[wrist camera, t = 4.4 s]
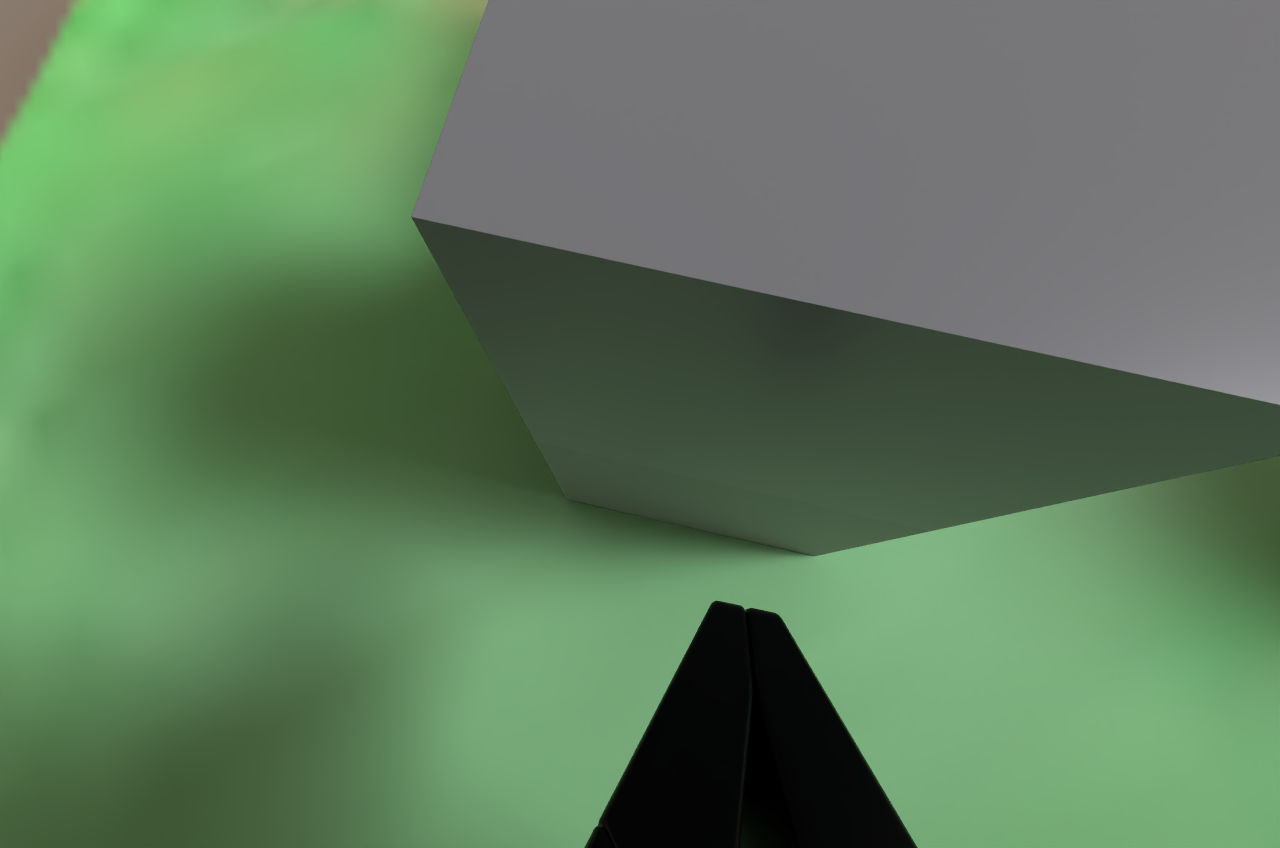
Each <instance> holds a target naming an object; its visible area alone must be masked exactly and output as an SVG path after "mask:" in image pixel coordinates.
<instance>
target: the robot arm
mask: <svg viewBox="0 0 1280 848" xmlns="http://www.w3.org/2000/svg"><path fill="white" fill-rule="evenodd" d="M585 848H917V846H916V844H915V843H914V841H913V839H912V838H911V836H910V834H909V833H908V831H907V829H906V828H905V826H904V824H903V822H902V821H901V819H900V817H899V816H898V814H897V812H896V811H895V809H894V807H893V806H892V804H891V802H890V800H889V799H888V797H887V795H886V794H885V792H884V790H883V789H882V787H881V785H880V784H879V782H878V780H877V779H876V777H875V775H874V773H873V772H872V770H871V768H870V767H869V765H868V763H867V762H866V760H865V758H864V757H863V755H862V753H861V752H860V750H859V748H858V746H857V745H856V743H855V741H854V740H853V738H852V736H851V735H850V733H849V731H848V730H847V728H846V726H845V725H844V723H843V721H842V719H841V718H840V716H839V714H838V713H837V711H836V709H835V708H834V706H833V704H832V703H831V701H830V699H829V698H828V696H827V694H826V692H825V691H824V689H823V687H822V686H821V684H820V682H819V681H818V679H817V677H816V676H815V674H814V672H813V671H812V669H811V667H810V665H809V664H808V662H807V660H806V659H805V657H804V655H803V654H802V652H801V650H800V649H799V647H798V645H797V643H796V642H795V640H794V638H793V637H792V635H791V633H790V632H789V630H788V628H787V627H786V625H785V623H784V622H783V620H782V618H781V617H780V616H779V615H778V614H776V613H773V612H768V611H764V610H759V609H754V608H749V609H746V610H744V608H743V607H742V606H740V605H735V604H730V603H726V602H721V601H714V602H713V603H712V604H711V605H710V607H709V609H708V611H707V613H706V615H705V617H704V619H703V621H702V623H701V625H700V626H699V628H698V630H697V632H696V634H695V636H694V638H693V640H692V642H691V644H690V646H689V648H688V650H687V652H686V654H685V655H684V657H683V659H682V661H681V663H680V665H679V667H678V669H677V671H676V673H675V675H674V677H673V679H672V681H671V683H670V684H669V686H668V688H667V690H666V692H665V694H664V696H663V698H662V700H661V702H660V704H659V706H658V708H657V710H656V711H655V713H654V715H653V717H652V719H651V721H650V723H649V725H648V727H647V729H646V731H645V733H644V735H643V737H642V739H641V740H640V742H639V744H638V746H637V748H636V750H635V752H634V754H633V756H632V758H631V760H630V762H629V764H628V766H627V767H626V769H625V771H624V773H623V775H622V777H621V779H620V781H619V783H618V785H617V787H616V789H615V791H614V793H613V795H612V796H611V798H610V800H609V802H608V804H607V806H606V808H605V810H604V812H603V814H602V816H601V818H600V820H599V823H598V826H597V827H595V829H594V830H593V832H592V834H591V836H590V838H589V840H588V842H587V844H586V846H585Z"/></svg>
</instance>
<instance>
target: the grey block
mask: <svg viewBox="0 0 1280 848" xmlns="http://www.w3.org/2000/svg"><path fill="white" fill-rule="evenodd" d="M411 217H412V219H413V221H414V223H415V224H416V226H417V228H418V230H419V232H420V233H421V235H422V237H423V239H424V241H425V243H426V244H427V246H428V248H429V250H430V252H431V254H432V255H433V257H434V259H435V261H436V263H437V264H438V266H439V268H440V270H441V272H442V274H443V275H444V277H445V279H446V281H447V283H448V284H449V286H450V288H451V290H452V292H453V294H454V295H455V297H456V299H457V301H458V303H459V304H460V306H461V308H462V310H463V312H464V314H465V315H466V317H467V319H468V321H469V323H470V324H471V326H472V328H473V330H474V332H475V334H476V335H477V337H478V339H479V341H480V343H481V344H482V346H483V348H484V350H485V352H486V354H487V355H488V357H489V359H490V361H491V363H492V364H493V366H494V368H495V370H496V372H497V374H498V375H499V377H500V379H501V381H502V383H503V384H504V386H505V388H506V390H507V392H508V394H509V395H510V397H511V399H512V401H513V403H514V404H515V406H516V408H517V410H518V412H519V414H520V415H521V417H522V419H523V421H524V423H525V424H526V426H527V428H528V430H529V432H530V434H531V435H532V437H533V439H534V441H535V443H536V444H537V446H538V448H539V450H540V452H541V454H542V455H543V457H544V459H545V461H546V463H547V464H548V466H549V468H550V470H551V472H552V474H553V475H554V477H555V479H556V481H557V483H558V485H559V486H560V488H561V490H562V492H563V494H564V495H565V497H566V499H568V500H572V501H577V502H581V503H585V504H590V505H594V506H599V507H603V508H607V509H612V510H616V511H620V512H625V513H629V514H634V515H638V516H642V517H647V518H651V519H656V520H660V521H664V522H669V523H673V524H677V525H682V526H686V527H691V528H695V529H699V530H704V531H708V532H712V533H717V534H721V535H726V536H730V537H734V538H739V539H743V540H748V541H752V542H756V543H761V544H765V545H769V546H774V547H778V548H783V549H787V550H791V551H796V552H800V553H804V554H809V555H813V556H818V555H823V554H827V553H832V552H836V551H841V550H846V549H850V548H855V547H860V546H864V545H869V544H873V543H878V542H883V541H887V540H892V539H896V538H901V537H906V536H910V535H915V534H920V533H924V532H929V531H933V530H938V529H943V528H947V527H952V526H957V525H961V524H966V523H970V522H975V521H980V520H984V519H989V518H993V517H998V516H1003V515H1007V514H1012V513H1017V512H1021V511H1026V510H1030V509H1035V508H1040V507H1044V506H1049V505H1054V504H1058V503H1063V502H1067V501H1072V500H1077V499H1081V498H1086V497H1090V496H1095V495H1100V494H1104V493H1109V492H1114V491H1118V490H1123V489H1127V488H1132V487H1137V486H1141V485H1146V484H1151V483H1155V482H1160V481H1164V480H1169V479H1174V478H1178V477H1183V476H1187V475H1192V474H1197V473H1201V472H1206V471H1211V470H1215V469H1220V468H1224V467H1229V466H1234V465H1238V464H1243V463H1248V462H1252V461H1257V460H1261V459H1266V458H1271V457H1275V456H1280V0H489V1H488V4H487V7H486V9H485V12H484V15H483V18H482V21H481V23H480V26H479V29H478V32H477V35H476V37H475V40H474V43H473V46H472V49H471V51H470V54H469V57H468V60H467V63H466V65H465V68H464V71H463V74H462V76H461V79H460V82H459V85H458V88H457V90H456V93H455V96H454V99H453V102H452V104H451V107H450V110H449V113H448V116H447V118H446V121H445V124H444V127H443V130H442V132H441V135H440V138H439V141H438V144H437V146H436V149H435V152H434V155H433V158H432V160H431V163H430V166H429V169H428V171H427V174H426V177H425V180H424V183H423V185H422V188H421V191H420V194H419V197H418V199H417V202H416V205H415V208H414V211H413V213H412V216H411Z"/></svg>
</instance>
